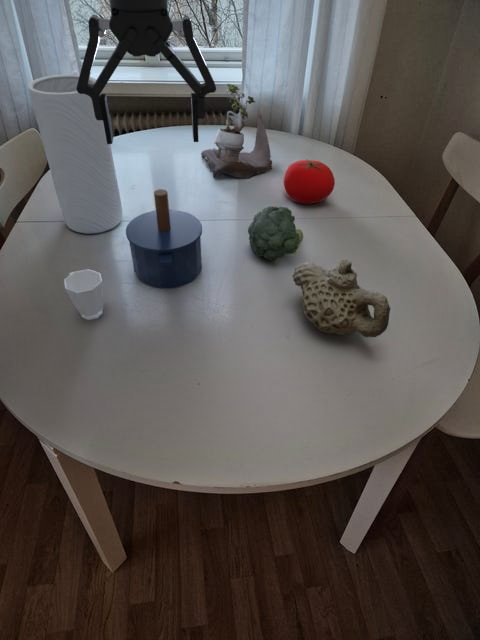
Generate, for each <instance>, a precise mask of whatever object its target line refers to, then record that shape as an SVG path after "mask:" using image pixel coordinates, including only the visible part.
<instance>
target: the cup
mask: <svg viewBox="0 0 480 640" xmlns="http://www.w3.org/2000/svg"><path fill="white" fill-rule="evenodd" d="M63 284H64V290H65V292H66V293H67V295H68V297H69V298H70V301H71V302H72V304H73V306H74V308H75V310H76V311H77V312H78V313H79V314H80V317H81V318H82V319H84V320H86V321H92V320H97V319H99V318H100V317H101V316H102V315H103V314H104V311H103V307H104V294H103V293H104V292H103V291H104V290H103V280H102V275H101V272H99V271H96V270H94V269H93V270H92V269H90V268H87V269H82V270H76V271H75V270H74V271H71V272H69V273H68V275H67V276H66V277H65V278H64V279H63Z"/></svg>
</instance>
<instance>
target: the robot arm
mask: <svg viewBox="0 0 480 640" xmlns="http://www.w3.org/2000/svg"><path fill="white" fill-rule="evenodd" d="M168 3H169V2H168V0H109V5H110V19H109V18H102V17H99V16H98V15H96V14H91V16H90V17H89V19H88V21H87V22H88V35H89V38H88V41H87V46H86V50H85V53H84V57H83V61H82V66H81V68H80V73H79V75H80V76H79V80H78V84H77V88H76V89H77V92H78V93H80V94H86V95H88V96H90V97H91V99H92V103H93V108H94V114H95V118H96V119H97V120H103V123H104V129H105V134H106V140H107V144H110V145H112V144H113V142H114V133H113V128H112V122H111V121H112V120H111V116H110V115H111V114H110V109H109V104H108V99H107V98H108V97H107V93H102V92H103V91H104V89H105V87H106V86H107V84H108V82H109V81H110V79H111V77H112V76H113V75H114V72H115V71H116V70H117V68H118V66H119V65H120V63H121V61H122V60H123V59H124V57H125V55H126V54H127V53H128V54H129V55H130V56H132V57H134V58H135V57H142V56H147V57H151V58H152V57H154V58H155V57H156V56H157V55H159V54H160V53H161V54H162V56H163V57H164V58H165V59H166V60H167V61H168V62H169V63H170V65H171V66H172V67H173V68H174V70H175V71H176V72H177V73H178V74H179V76H180V77H181V78H182V79H183V81H184V82H185V83H186V84H187V85H188V86H189V88H190V89H191V90H192V92H190V102H191V124H192V139H193V143H199V119H200V120H201V119H202V120H203V119H205V116H206V113H205V112H206V109H205V107H206V106H205V98H206V96H207V95H208V94H211V93H212V94H213V93H215V92H216V91H217V86H216V83H215V80H214V78H213V76H212V74H211V72H210V69H209V67H208V65H207V63H206V61H205V58H204V57H203V55H202V52H201V49H200V48H199V46H198V43H197V41H196V39H195V37H194V29H193V24H192V20H191V18H190V17H189V16H188V15H184V16H183V17H182V18H178V19H171V17H170V14H169V5H168ZM108 30H110V32H111V33H112V35H114V37H115V39H116V40H117V41H118V43H117V44H116V47H115V48H114V50H113V52H112V53H111V55H110V57H109V58H108V60H107V62H106V64H105V65H104V66H103V69H102V70H101V72H100V73H99V75H98V77H97V78H96V82H95V83H94V85H91V84H89V83H88V81H89V77H91V74H92V69H93V66H94V64H95V63H94V62H95V58H96V55H97V52H98V48H99V44H100V40H101V38H104V37H105V35H106V32H107V31H108ZM173 31H176V32H177V34H178V36H179V37H180V38H182V39H183V38H184V40H185V44H186V46H187V48H188V51H189V52H190V54H191V56H192V59H193V61H194V62H195V64H196V67H197V69H198V71H199V73H200V75H201V77H202V79H203V81H204V82H203V83H201V82H200V81H199V80H198V79H197V78H196V76H195V75H194V73H193V72H192V71H191V70H190V68H189V67H188V66H187V65H186V64H185V62H184V61H183V60H182V59H181V57H180V56H179V54H177V53H176V51H175V50H174V48H173V47H172V45H171V44H170V43H169V42H168V40H169V37H170V36H171V34H172V32H173Z"/></svg>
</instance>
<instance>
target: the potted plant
mask: <svg viewBox="0 0 480 640" xmlns="http://www.w3.org/2000/svg"><path fill="white" fill-rule="evenodd" d="M227 87H228V88H227V90H226V93H229V92H230V95H231V97H230V96H227V97H225V99H226V100H229V104H231V103H232V101H233V103H232V105H231V108H232V110H228V111H227V113H226V121H225V126H226V127H225V128H218V130H217V133H216V137H215V140H214V144H215V146H216V147H217V148H218V149H216V148H215V147H214V148H213V149H212V148H209V149H205V150H202V151H201V153H200V155H201V156H200V157H201V158H202V159H201V160H202V161H203V160H205V159H206V160H207V161H206V162H207V163H208V162H209V167H210V171H211V173H213V175H212V178H213V179H216V178H217V177H218V175H220V174H227V175H229V176H232V177H234V178H240V179H241V178H243V179H244V178H246V179H249V180H250V179H251V178H252V177H253V176H254V175H256V174H261V173H266V172H267V171H270V170H272V169H273V161H272V160H271V148H270V142H269V137H268V135H267V130H266V127H265V124H264V120H263V117H262V115H261V114H259V115H258V118H257V125H256V132H255V141H254V147H253V149H252V151H250V152H242V151H243V150H244V149H245V147H244V146H243V145H244V143H245V134H244V133H242V131H243V129H244V128H245V126H246V121H245V120H246V118H247V119H248V118H249V114H248V113H249V112H248V111H247V107H248V105H251V104H253V103H255V104H256V101H255V100H254V97H253V96H249V95H248V96H247V99H245V104H244V103H242V102H241V101H240V99H244V98H245V97H246V95H245V93H243V92H242V93H241V92H240V94H241V96H238V95H239V92H238V91H240V88H239V87H238V86H237V85H236V86H235V85H234V84H231V83H228V82H227ZM235 111H238V113H236V112H235ZM230 122H232V125H233V128H231V126H230Z"/></svg>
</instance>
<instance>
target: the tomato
mask: <svg viewBox="0 0 480 640" xmlns="http://www.w3.org/2000/svg"><path fill="white" fill-rule="evenodd" d="M335 185H336V181H335V176H334V173H333V171H332V170H331V168H330V167H329V166H328V165H327V164H325V163H323V162H321V161H319V160H315V159H314V160H313V159H301V160H297V161H294V162H292V163H290V165H289V166H288V167H287V169H286V171H285V173H284V176H283V188H284V191H285V194H286V195H287V196H288V197H289V198H290V200H292V201H293V202H295V203H298V204H303V205H310V204H317V203H320V202H322V201H323V200H325V199H327V198H328V197H329V196H330V195H331V194H332V192H333V191H334V188H335Z"/></svg>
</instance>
